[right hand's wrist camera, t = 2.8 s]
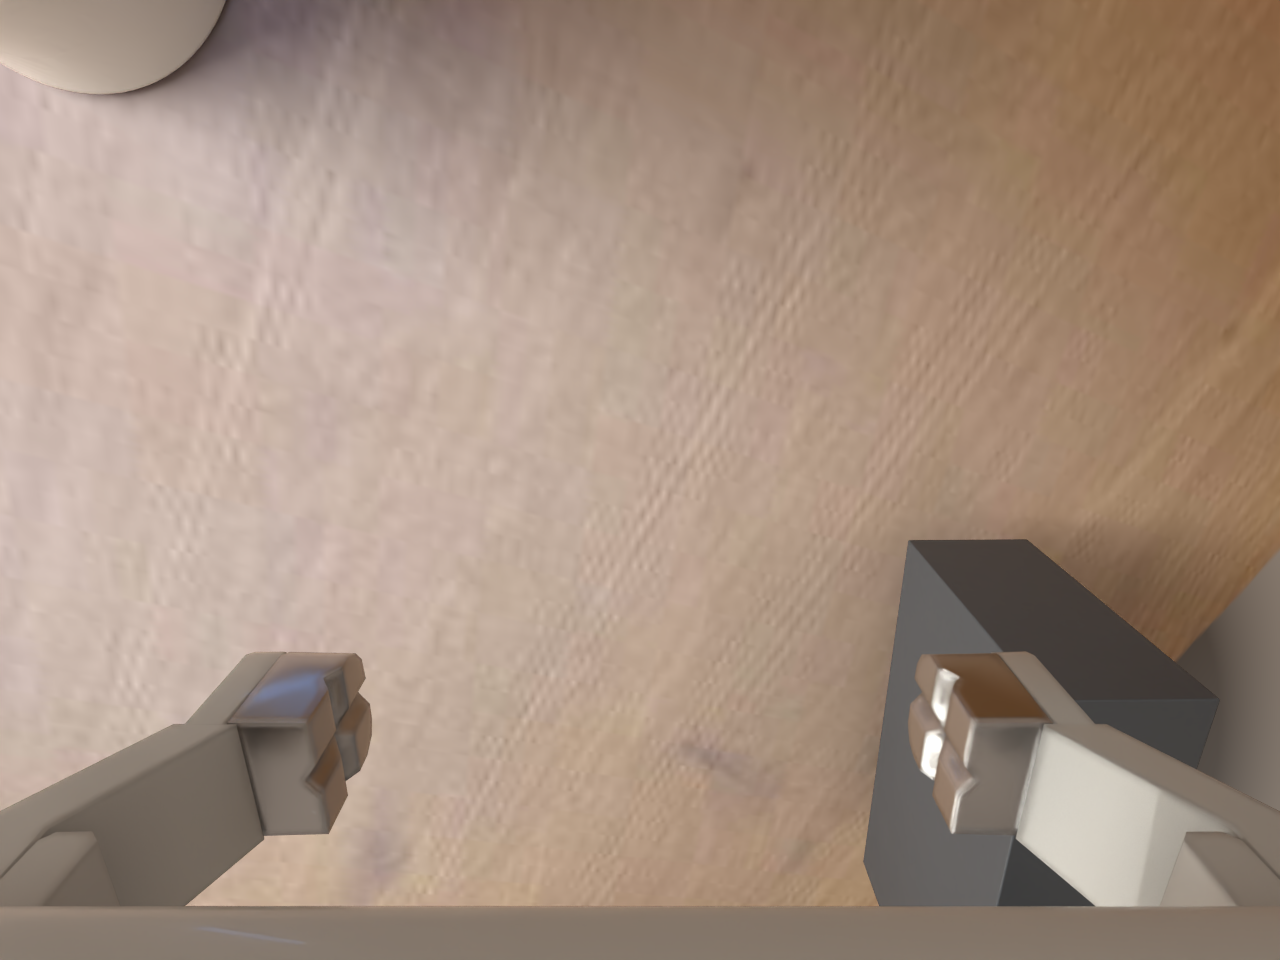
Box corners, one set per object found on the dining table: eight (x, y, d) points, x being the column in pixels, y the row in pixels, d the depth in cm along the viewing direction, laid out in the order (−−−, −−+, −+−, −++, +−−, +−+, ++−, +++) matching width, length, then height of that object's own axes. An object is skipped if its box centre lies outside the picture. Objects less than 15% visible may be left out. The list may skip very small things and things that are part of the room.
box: (907, 539, 36) (1044, 701, 24) (1027, 538, 36) (1221, 699, 24) (862, 861, 44) (950, 1105, 32) (961, 860, 44) (1085, 1103, 32)
